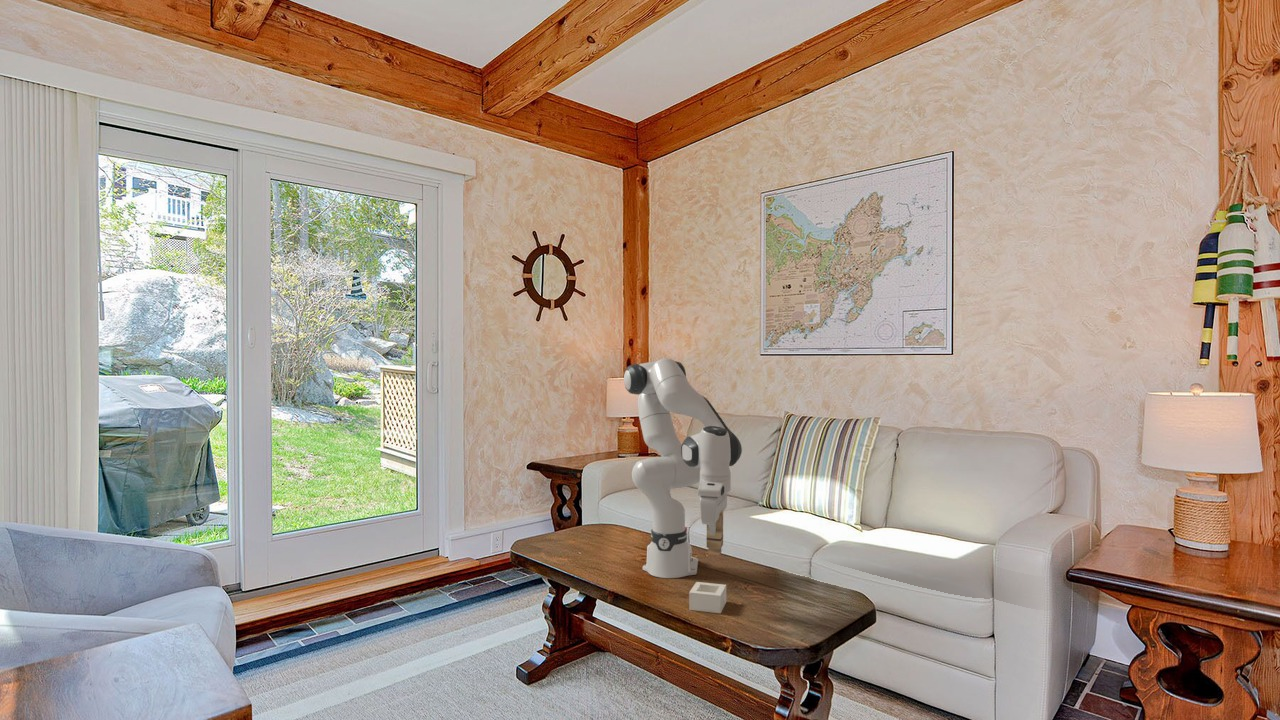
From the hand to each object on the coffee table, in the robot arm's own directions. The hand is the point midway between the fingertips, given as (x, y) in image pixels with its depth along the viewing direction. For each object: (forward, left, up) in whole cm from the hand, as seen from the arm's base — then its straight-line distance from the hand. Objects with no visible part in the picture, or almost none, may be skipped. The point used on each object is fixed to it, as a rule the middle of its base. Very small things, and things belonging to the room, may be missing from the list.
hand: (714, 531), depth 183 cm
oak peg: (0, 0, -6) cm, 6 cm away
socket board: (-1, -2, -22) cm, 22 cm away
